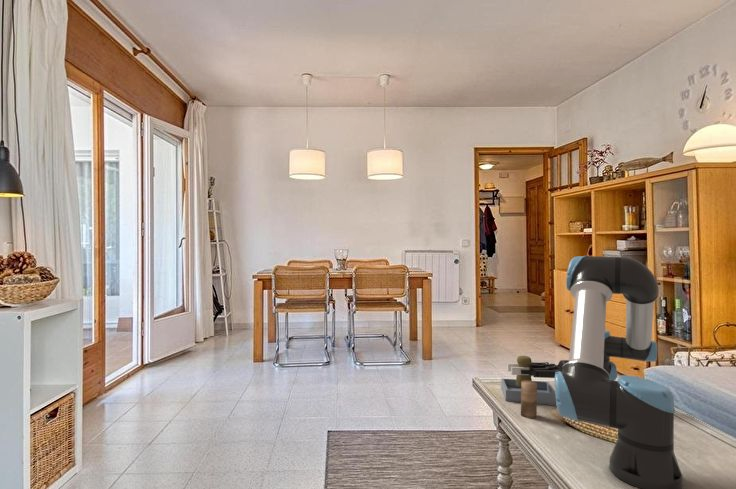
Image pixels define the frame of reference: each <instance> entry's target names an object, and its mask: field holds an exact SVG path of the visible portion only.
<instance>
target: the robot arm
mask: <svg viewBox="0 0 736 489" xmlns="http://www.w3.org/2000/svg"><path fill="white" fill-rule="evenodd" d="M565 281H566V282H565V285H566V289H567V290H568V291H570V294H571V296H572V297H573V298H574V306H573V307H574V308H573V316H572V317H573V319H572V327H571V334H570V346H569V358H568V360H566V359H564V360H563V359H561V360H559V362H558V364H555V363H549V361H545V362H536V361H535V362H533V361H532V362H531V365H530V370H529V367H518V363H507V364H506V366H507V367H506V368H507V371H508V372H510V375H512V376H517V375H529V374H530V376H531V377H533V378H535V379H536V378H540V379H541V378H545V379H554V390H555V395H556V404H557V405H556V409H557V413H558V415H560V416H561V417H563V418H566V419H570V420H572V421H573V420H574V421H575V422H583V423H587V424H593V425H598V426H602V427H607V428H613V429H616V430H617V439H616V441H615V445H614V446H613V449H612V451H611V454H610V456H609V465H608V466H609V467H608V468H609V470H610V472H611V474H613V475H614V476H615V477H617V478H618V479H619V480H621V481H623V482H624V483H626V484H629V485H631V486H632V487H633V486H634V487H636V488H639V489H683V479H684V478H683V474H682V472H681V468H680V466H679V463H678V459H677V456H676V455H675V454H676V453H675V449H674V444H675V430H674V429H675V427H674V424H675V423H674V422H675V418H674V416H675V414H674V413H676V408H675V398H674V395H673V392H672V391H671V390H670V389H669V388H668V387H666V386H664V385H663V384H661V383H658V382H656V381H653V380H650V379H648V378H644V377H639V376H634V375H625V374H624V375H623V374H622V375H620V376H619V377H618V370H617V365H616V364H615V363H614V362H613V361H611V359H610V357H611V358H618V359H625V360H626V359H627V360H628V359H629V360H632V361H633V360H635V361H641V362H650V363H651V362H653V363H655V362H657V360H658V344H657V342H656V341H655V340H652V336H653V335H652V334H653V322H654V321H653V320H654V309H655V308H654V305H655V303H654V302H655V301H657V300H658V298H659V292H660V291H659V290H660V289H659V283H658V280H657V279H656V277H655V275H654V274H653V272H652V271H651V269H649V268H648V267H647V266H646V265H645V264H643V263H642V262H641V261H639V260H637V259H634V258H632V257H628V256H595V255H591V256H590V255H583V256H581V255H579V256H574V257H573V258H571V259H570V261H569V264H568V267H567V270H566V278H565ZM614 294H615V295H617V294H619V295H620V294H621V295H623V298H624V299H625V301H626V302H625V305H626V306H625V337H623V336H622V337H621V336H613V335H611V332H610V331H609V330H607V329H606V318H607V317H606V315H607V314H606V313H607V302H609V301H610V300H611V299H612V297H613V295H614ZM617 377H618V378H617ZM616 379H617V380H616Z"/></svg>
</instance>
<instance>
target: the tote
mask: <svg viewBox="0 0 736 489" xmlns="http://www.w3.org/2000/svg"><path fill="white" fill-rule="evenodd" d="M500 381H501V382H500V386H501V388H500V389H501V391H502V394H503V398H504V401H505V402H514V403H521V387H518V386H516V378H515V379H514V378H504V377H503V378H501V380H500ZM532 381H533V382H536V383H537V405H538V404H539V405H547V406H548V405H551V406H557V405H556V395H555V388H554V387H553V386H552V385H551V384H550V382H549V381H542V380H541V381H540V380H532Z"/></svg>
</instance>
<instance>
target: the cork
mask: <svg viewBox="0 0 736 489" xmlns="http://www.w3.org/2000/svg"><path fill="white" fill-rule="evenodd" d="M516 362H517V363H516V364H518V367H529V370H530V365H531V362H533V361H532V359H531V357H530V356H528V355H518V356H517V359H516ZM515 379H516V386H518V387H521V381H524V380H527V381H533V380H532V379H533V378H532V376H530V374H529V375H516V378H515Z"/></svg>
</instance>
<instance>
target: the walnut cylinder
mask: <svg viewBox="0 0 736 489" xmlns="http://www.w3.org/2000/svg"><path fill="white" fill-rule="evenodd" d="M533 381H534V380H532V381H527V380H524V381H521V402H520V416H521V417H523V418H526V419H535V418H536V419H537V414H538V410H537V408H538V404H537V383H536V382H533Z"/></svg>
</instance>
